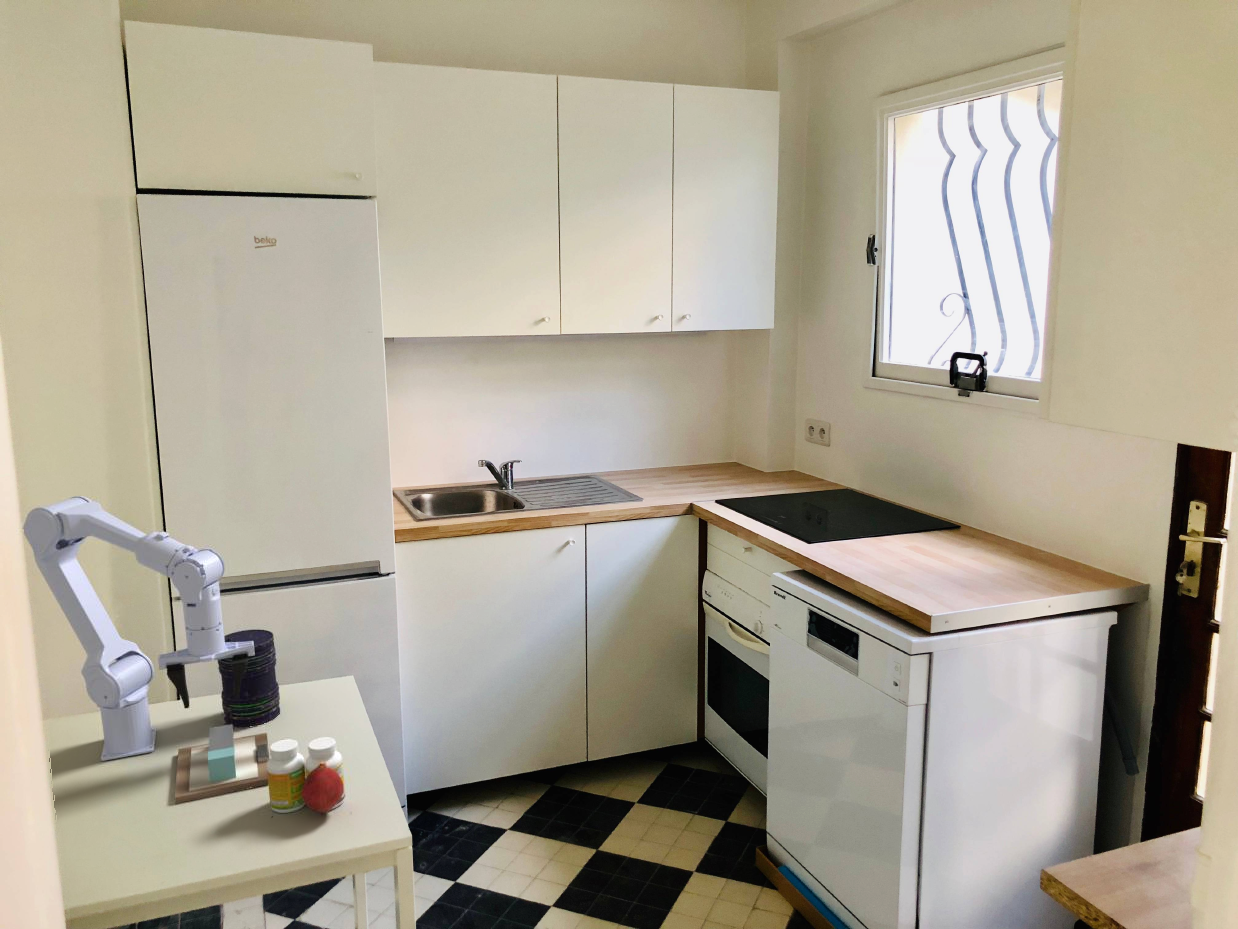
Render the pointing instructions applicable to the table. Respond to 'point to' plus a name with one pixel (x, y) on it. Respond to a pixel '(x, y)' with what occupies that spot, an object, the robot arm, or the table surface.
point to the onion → (322, 788)
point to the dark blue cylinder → (251, 682)
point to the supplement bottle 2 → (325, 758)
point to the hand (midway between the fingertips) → (212, 701)
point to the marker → (221, 753)
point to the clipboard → (197, 780)
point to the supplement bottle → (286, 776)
